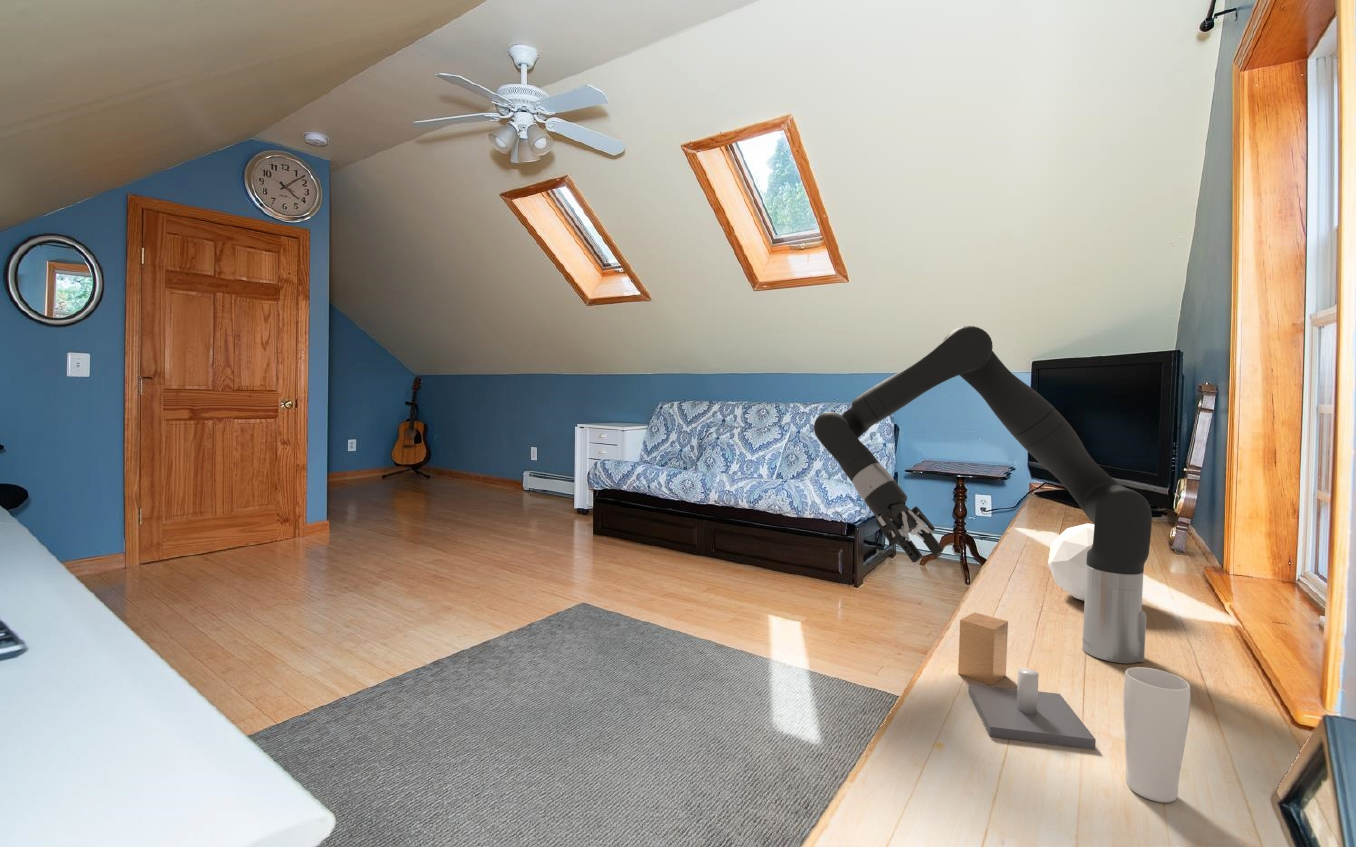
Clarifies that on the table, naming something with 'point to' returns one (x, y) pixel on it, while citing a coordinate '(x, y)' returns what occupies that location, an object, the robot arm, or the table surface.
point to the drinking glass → (1155, 731)
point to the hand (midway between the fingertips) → (929, 556)
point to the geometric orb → (1071, 559)
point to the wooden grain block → (983, 648)
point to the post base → (1029, 713)
